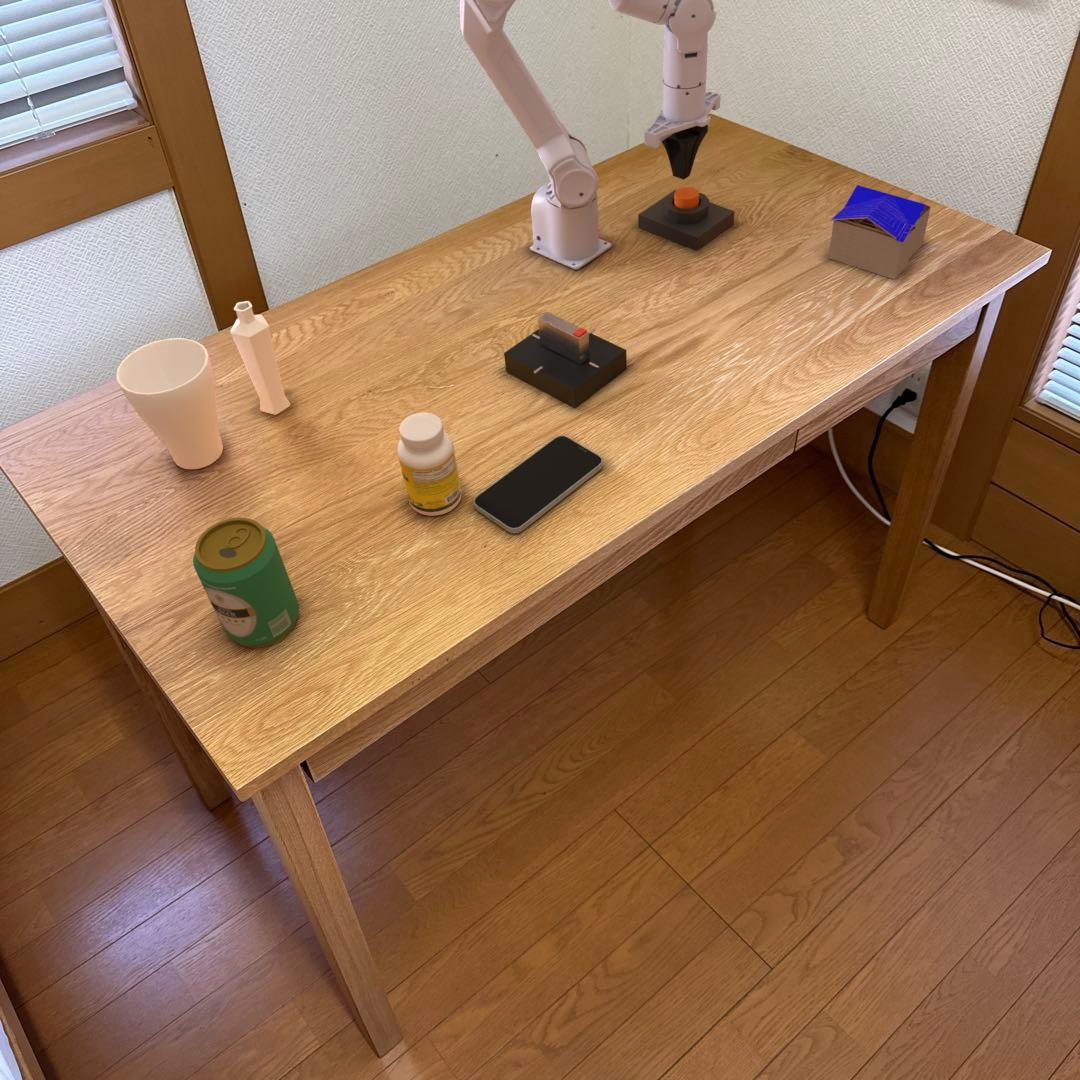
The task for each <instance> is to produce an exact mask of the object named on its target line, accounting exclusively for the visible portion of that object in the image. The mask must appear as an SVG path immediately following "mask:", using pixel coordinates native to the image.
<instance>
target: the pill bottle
mask: <svg viewBox="0 0 1080 1080" xmlns="http://www.w3.org/2000/svg"><path fill="white" fill-rule="evenodd" d="M398 432H399V435H400V440H399V442H398V444H397V452H396V453H397V458H398V461H399V467H400V470H401V474H402V479H403V483H404V487H405V491H406V495H407V500H408V503H409V505H410V507H411V508H412V509H413V510H414V511H415V512H416V513H418V514H420V515H424V516H429V517H430V516H431V517H433V516H434V517H435V516H441V515H444V514H447V513H450V512H451V511H453V510H454V509H455V508H456V507H457V506H458V504H459V503H460V502H461V499H462V493H463V492H462V485H461V479H460V474H459V469H458V462H457V458H456V453H455V446H454V442H453V439H452V437H451V436H450V434H449V433H447V432H446V431H445V430H444V425H443V422H442V419H441V418H440V417H439V416H438V415H436V414H434V413H431V412H417V413H413V414H410V415H408V416H407V417H405V418H404V420H402V422H401V423H400V425H399V431H398Z"/></svg>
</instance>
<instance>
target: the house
mask: <svg viewBox="0 0 1080 1080" xmlns="http://www.w3.org/2000/svg"><path fill="white" fill-rule="evenodd" d="M931 208H932V207H931V206H930V205H927V204H926V203H923V202H919V201H915V200H912V199H908V198H905V197H901V196H898V195H893V194H891V193H887V192H884V191H881V190H877V189H873V188H869V187H866V186H862V185H858V184H857V185H856V186H855V187H854V189H853V191H852V193H851V195H850V196H849V198H848V200H847V202H846V203H845V205H844V207H843V208H842V209H841V210H840V211H838V213H836V214H835V215H834V216H833V217H832V218H831V219H830V221H833V223H832V229H831V235H830V236H831V237H830V243H829V250H828V256H827V257H828V258H827V259H830V260H831V261H832V260H833V261H835V262H838V263H842V264H845V265H849V266H851V267H855V268H858V269H861V270H863V271H865V272H866V271H867V272H869V273H873V274H875V275H879V276H882V277H885V278H889V279H892V280H896V279H897V277H899V275H900V274H902V273H903V271H904V270H906V268H907V267H908V266H909V262H910V259H911V258H912V256H913V255H915V254H916V252H918V250H919V249H920V248H921V247H922V246H923V243H924V239H925V234H926V230H927V226H928V221H929V218H930V217H929V216H930V212H931Z"/></svg>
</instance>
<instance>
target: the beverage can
mask: <svg viewBox="0 0 1080 1080" xmlns="http://www.w3.org/2000/svg"><path fill="white" fill-rule="evenodd" d="M192 564H193V568H194V570H195V572H196V574H197V577H198V578H199V581H200V583H201V585H202V587H203V590H204V592H205V593H206V597H207V598H208V600H209V602H210V605H211V606H212V609H213V611H214V613H215V615H216V617H217V619H218V621H219V623H220V626H221V627H222V629H223V632H224V633H225V635H226V636H227V638H229V639H230V640H232V641H233V642H235V643H236V644H237V643H238V644H239V645H241V646H244V647H246V648H256V649H257V648H264V647H265V648H266V647H269V646H271V645H272V646H273V645H274V644H276V643H278V642H280V641H281V640H283V639H284V638H286V637H287V636H288V634H290V632H291V631H292V630H293V628H294V627H295V626H296V622H297V618H298V616H299V612H300V604H299V601H298V597H297V595H296V592H295V590H294V587H293V585H292V581H291V580H290V577H289V574H288V571H287V569H286V566H285V563H284V561H283V558H282V555H281V553H280V550H279V547H278V545H277V542H276V539H275V538H274V535H273V533H271V531H270V530H269V529H268V528H267V527H265V526H263V525H262V524H261V523H259V522H258V521H256V520H255V519H252V518H247V517H231V518H227V519H223V520H220V521H218V522H216V523H214V524H212V525H211V526H210V527H208V528H207V529H205V530H204V531H203V532H202V533H201V534H200V536H199V537H198V539H197V540H196V543H195V546H194V553H193V558H192Z"/></svg>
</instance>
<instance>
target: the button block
mask: <svg viewBox="0 0 1080 1080" xmlns="http://www.w3.org/2000/svg"><path fill="white" fill-rule="evenodd" d="M676 190H677V189H674V190H673V191H671V192H669V193H668V194H666V195H665V196H663V197H662V198H661V199H659V200H658V201H656V202H655V203H653V204H652V205H650V206H648V207H647V208H646V209H644V210H642V211H641V212H640V213H638V214H637V218H638V219H637V228H638V229H641V230H644V231H646V232H649V233H651V234H653V235H656V236H660V238H664V239H666V240H669V241H671V242H674V243H676V244H678V245H681V246H683V247H686V248H689V249H690V250H694V251H699V250H700V249H702V248H703V247H705V246H706V245H707V244H709V243H710V242H711V241H714V239H716V238H717V237H718V236H720V235H721V234H723V233H724V232H725V231H727V230H728V229H729V228H731V227H732V226H733V225H734V223H735V210H732V209H730V208H727V207H724V206H722V205H719V204H717V203H713V202H711V201H710V199H709V197H707V195H706V194H705V193H702V192H699V205H698V206H697V207H696V208H692V209H680V208H678V207H675V205H674V193H675V191H676Z"/></svg>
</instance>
